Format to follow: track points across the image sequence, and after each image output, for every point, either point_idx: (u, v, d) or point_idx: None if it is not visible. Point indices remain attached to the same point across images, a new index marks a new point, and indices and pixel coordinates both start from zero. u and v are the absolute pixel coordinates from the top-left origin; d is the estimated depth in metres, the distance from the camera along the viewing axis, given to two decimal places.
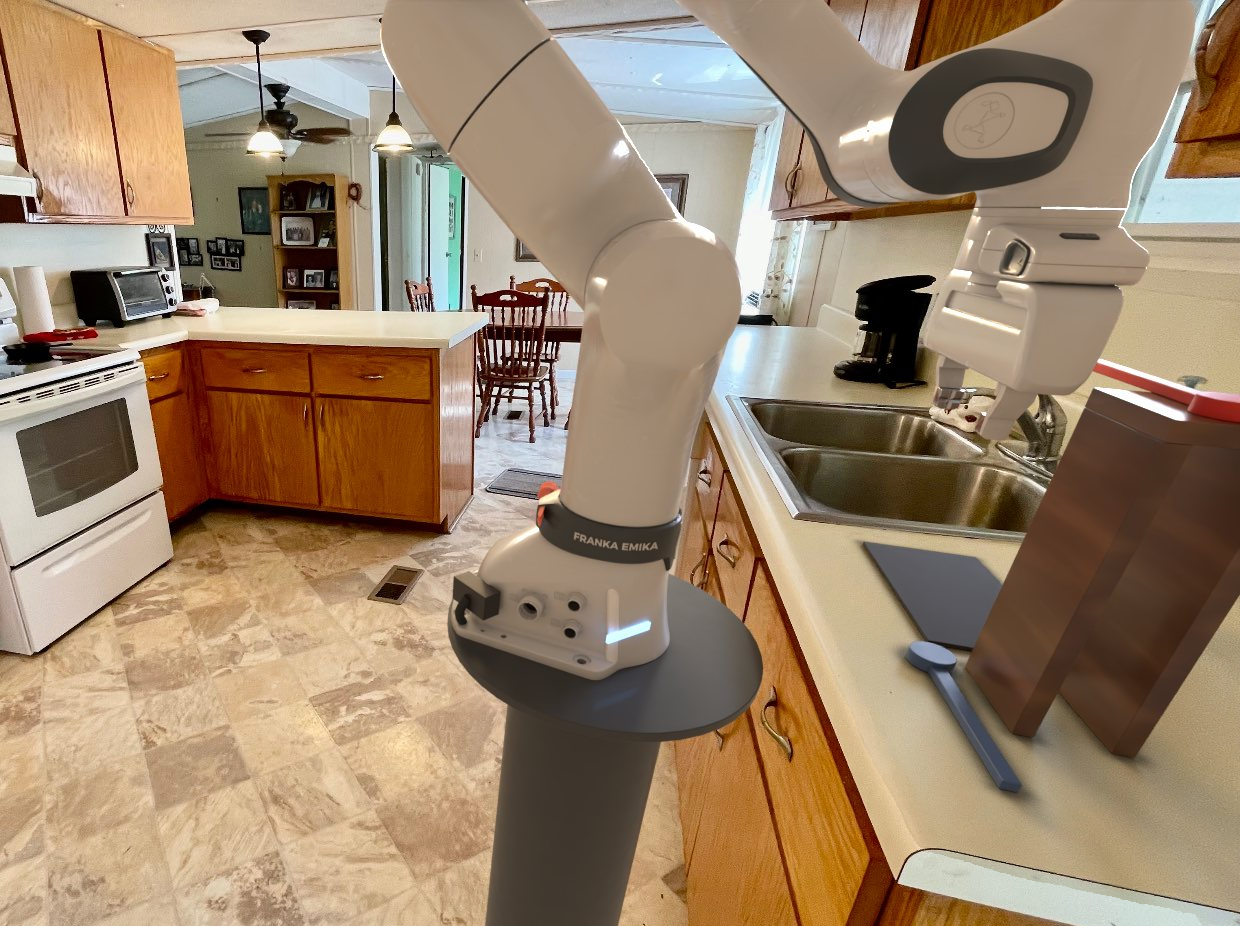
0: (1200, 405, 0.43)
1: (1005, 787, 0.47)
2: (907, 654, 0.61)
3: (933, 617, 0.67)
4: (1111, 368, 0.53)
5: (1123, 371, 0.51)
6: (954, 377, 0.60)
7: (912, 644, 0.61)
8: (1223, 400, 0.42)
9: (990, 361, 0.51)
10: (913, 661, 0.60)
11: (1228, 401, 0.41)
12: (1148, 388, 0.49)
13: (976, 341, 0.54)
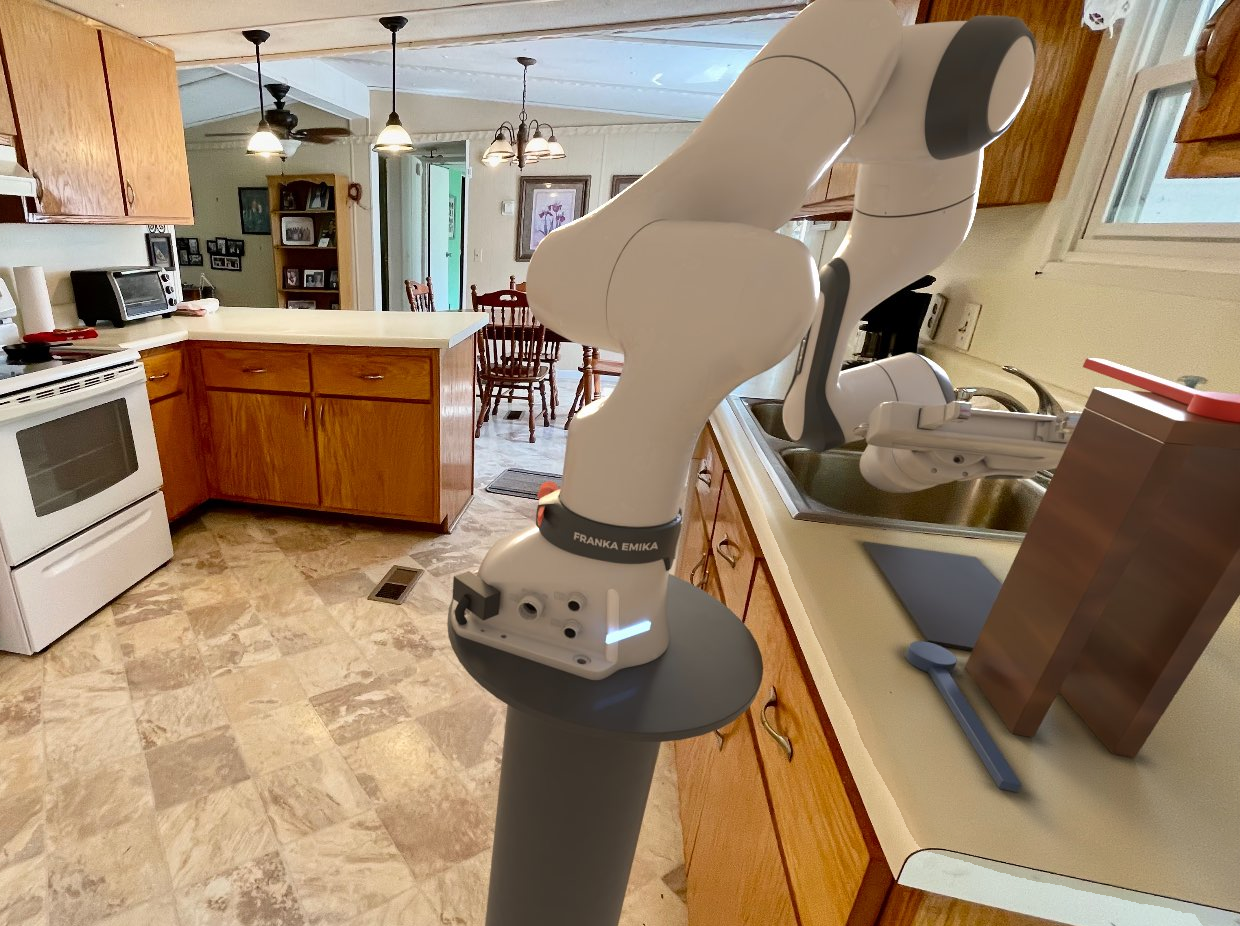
0: (1199, 405, 0.43)
1: (1005, 787, 0.47)
2: (907, 654, 0.61)
3: (933, 617, 0.67)
4: (1112, 368, 0.53)
5: (1124, 371, 0.51)
6: None
7: (912, 644, 0.61)
8: (1222, 400, 0.42)
9: None
10: (913, 661, 0.60)
11: (1227, 401, 0.41)
12: (1149, 388, 0.49)
13: None
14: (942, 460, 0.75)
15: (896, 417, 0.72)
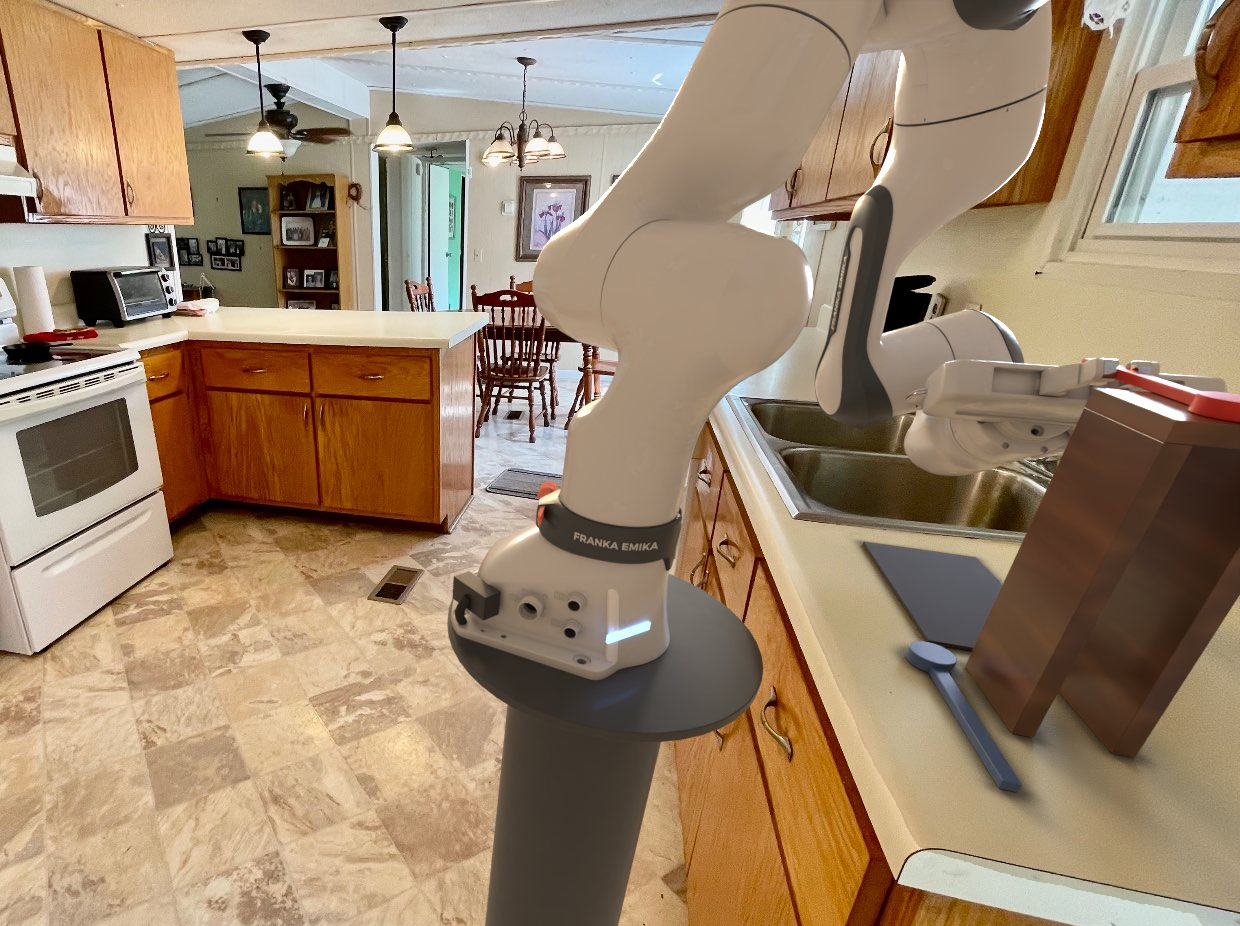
0: (1201, 405, 0.43)
1: (1005, 787, 0.47)
2: (907, 654, 0.61)
3: (933, 617, 0.67)
4: None
5: (1122, 371, 0.51)
6: None
7: (912, 644, 0.61)
8: (1224, 400, 0.42)
9: None
10: (913, 661, 0.60)
11: (1229, 401, 0.41)
12: (1148, 388, 0.49)
13: None
14: (1017, 432, 0.62)
15: (965, 378, 0.58)
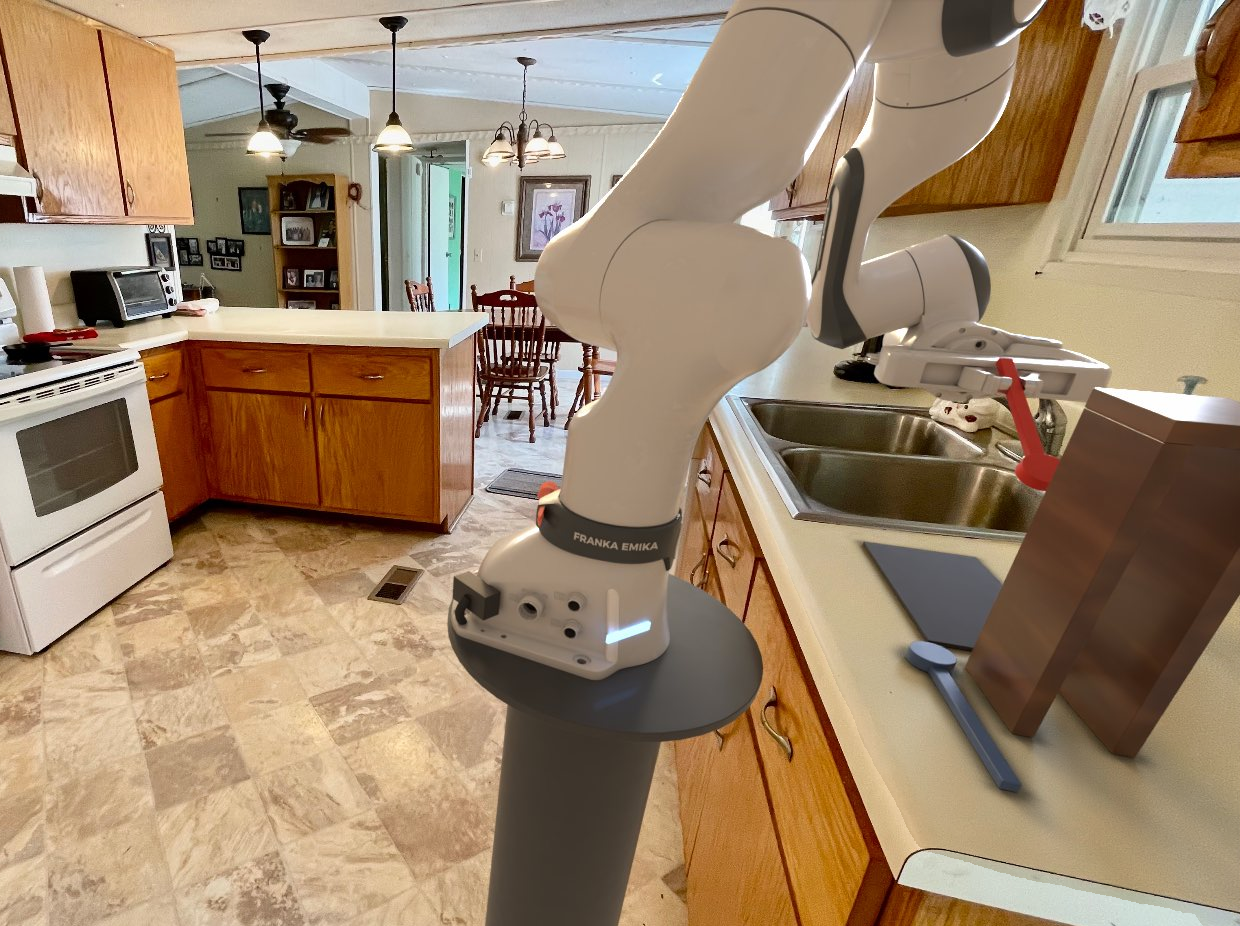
0: (1020, 471, 0.60)
1: (1005, 787, 0.47)
2: (907, 654, 0.61)
3: (933, 617, 0.67)
4: None
5: (1010, 393, 0.66)
6: None
7: (912, 644, 0.61)
8: (1032, 474, 0.59)
9: (1048, 362, 0.69)
10: (913, 661, 0.60)
11: (1034, 476, 0.59)
12: (1015, 421, 0.64)
13: None
14: None
15: (901, 372, 0.72)
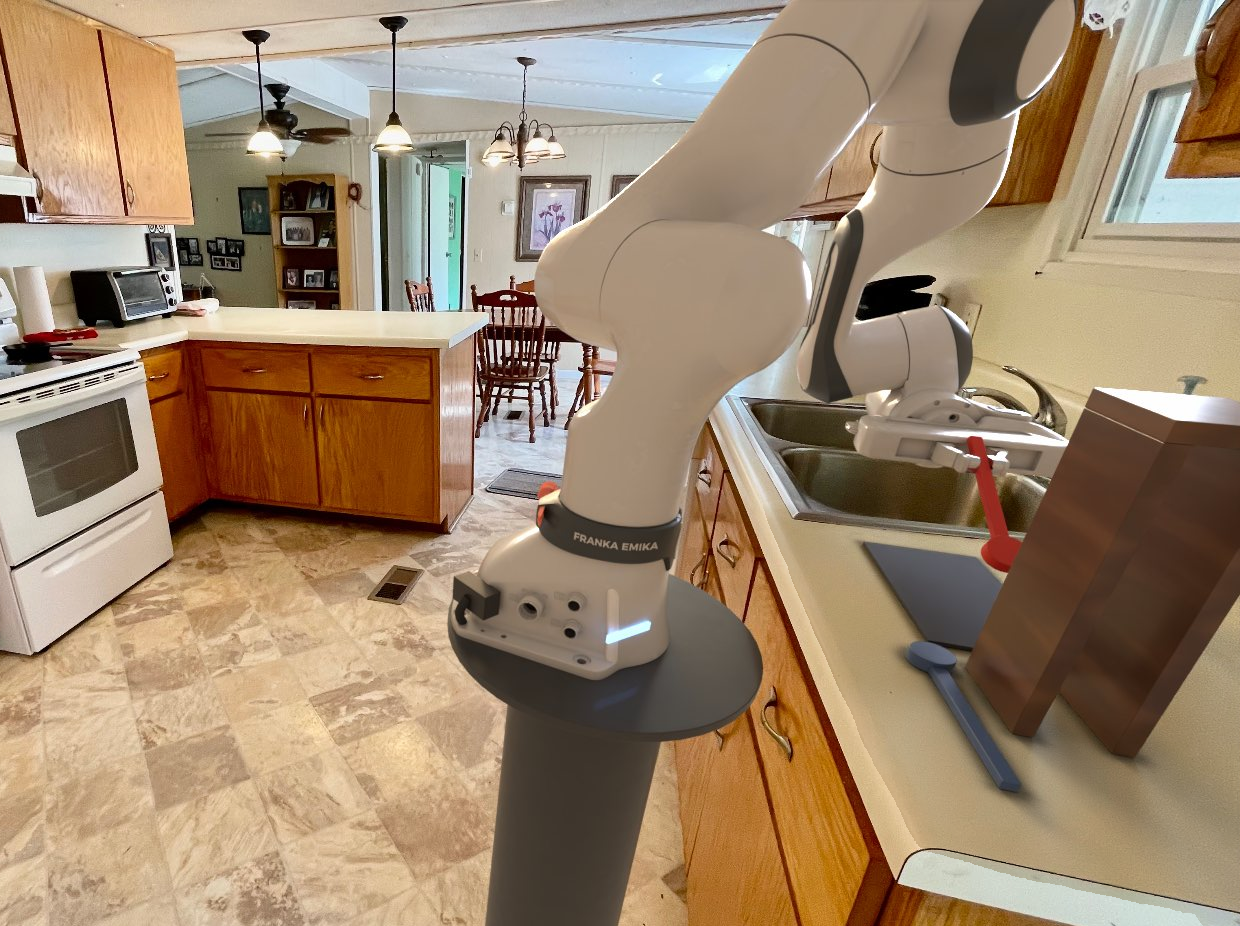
0: (985, 553, 0.64)
1: (1005, 787, 0.47)
2: (907, 654, 0.61)
3: (933, 617, 0.67)
4: None
5: (979, 472, 0.69)
6: None
7: (912, 644, 0.61)
8: (995, 557, 0.63)
9: (1017, 439, 0.72)
10: (913, 661, 0.60)
11: (997, 559, 0.63)
12: (982, 501, 0.68)
13: (977, 433, 0.74)
14: None
15: (877, 445, 0.76)
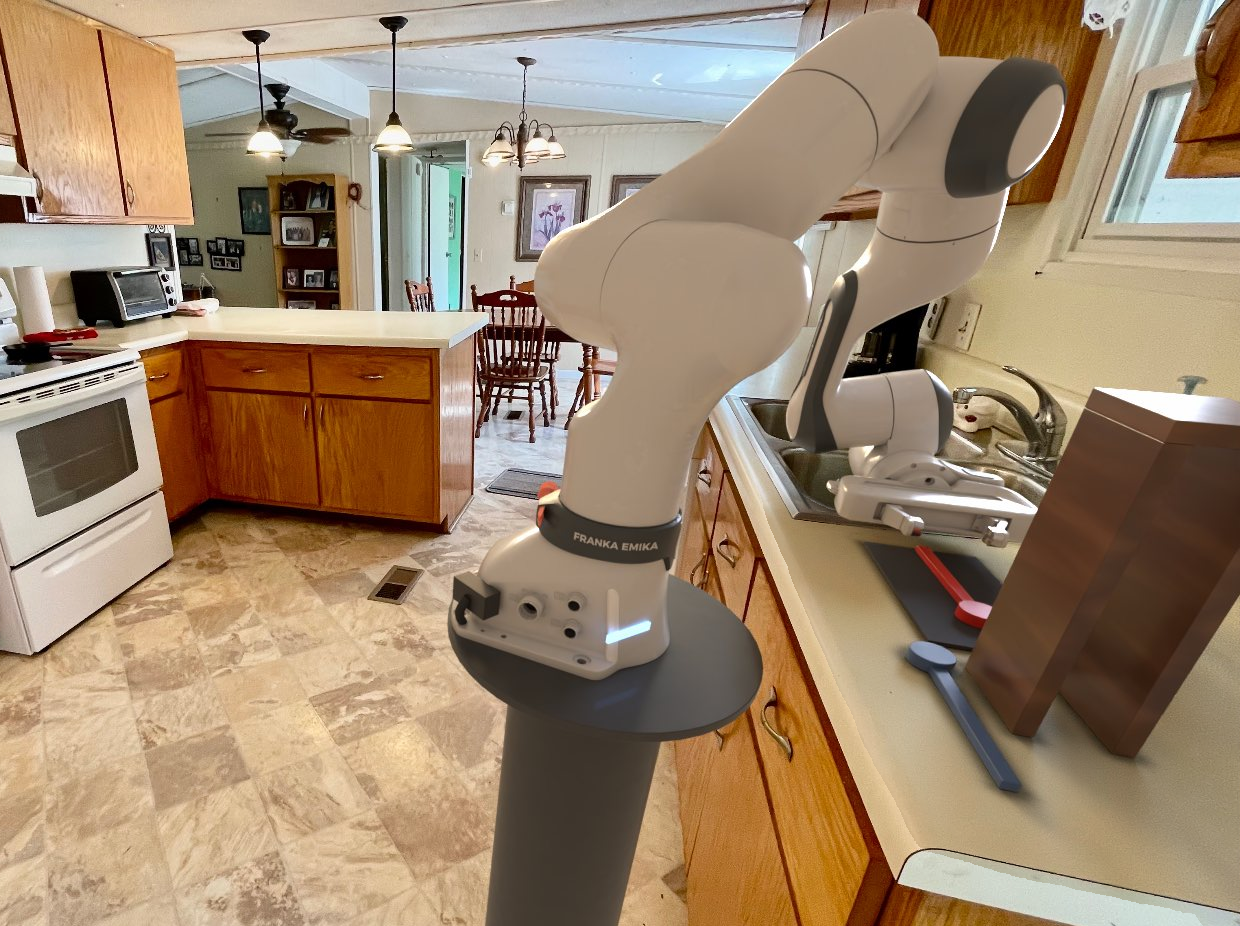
0: (959, 612, 0.67)
1: (1005, 787, 0.47)
2: (907, 654, 0.61)
3: (933, 617, 0.67)
4: (928, 560, 0.77)
5: (933, 565, 0.75)
6: None
7: (912, 644, 0.61)
8: (970, 613, 0.66)
9: (988, 506, 0.76)
10: (913, 661, 0.60)
11: (972, 614, 0.66)
12: (943, 584, 0.73)
13: (950, 499, 0.78)
14: None
15: (856, 509, 0.79)
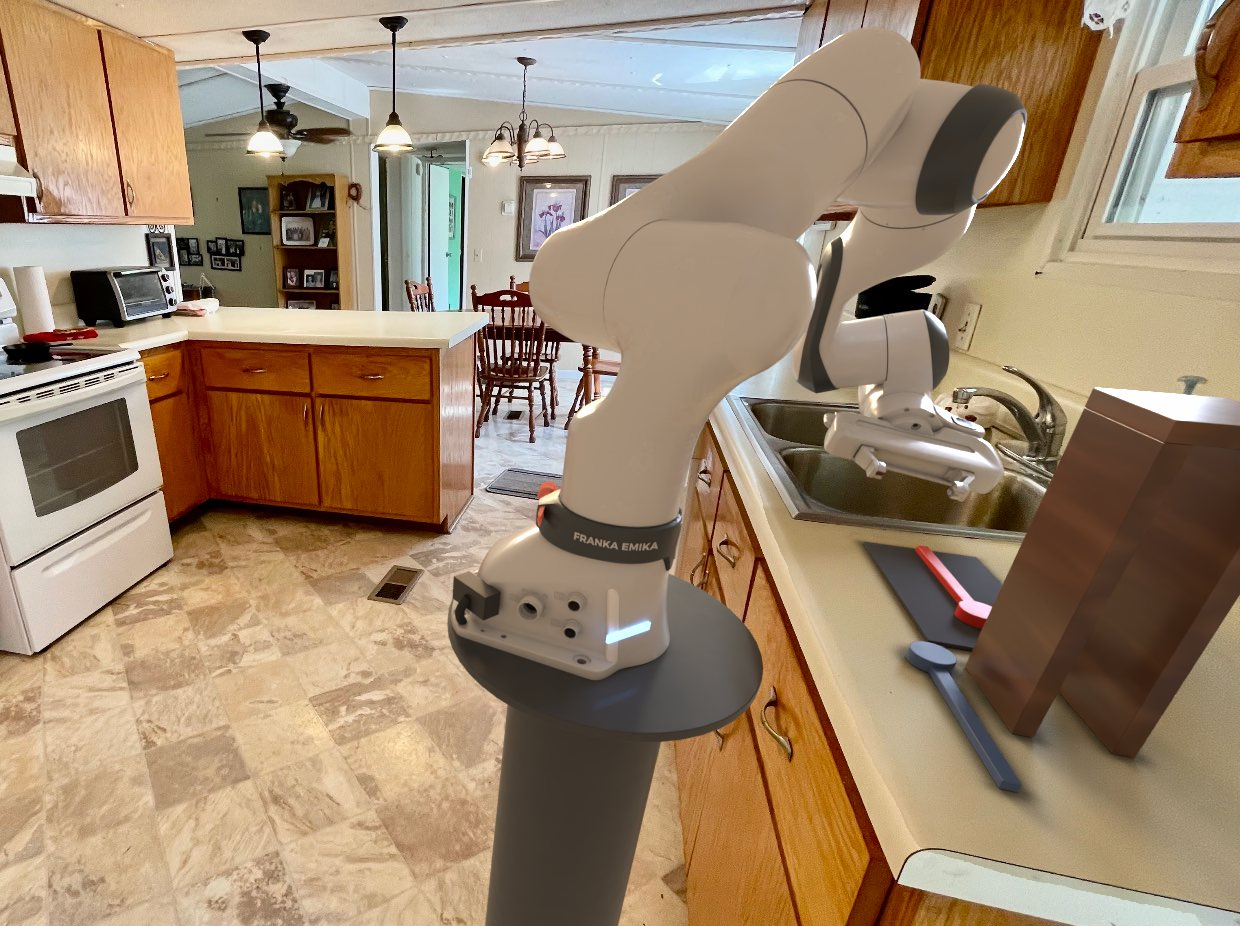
0: (959, 612, 0.67)
1: (1005, 787, 0.47)
2: (907, 654, 0.61)
3: (933, 617, 0.67)
4: (928, 560, 0.77)
5: (933, 565, 0.75)
6: None
7: (912, 644, 0.61)
8: (970, 613, 0.66)
9: (958, 458, 0.85)
10: (913, 661, 0.60)
11: (972, 614, 0.66)
12: (943, 584, 0.73)
13: (927, 447, 0.86)
14: None
15: (840, 447, 0.88)
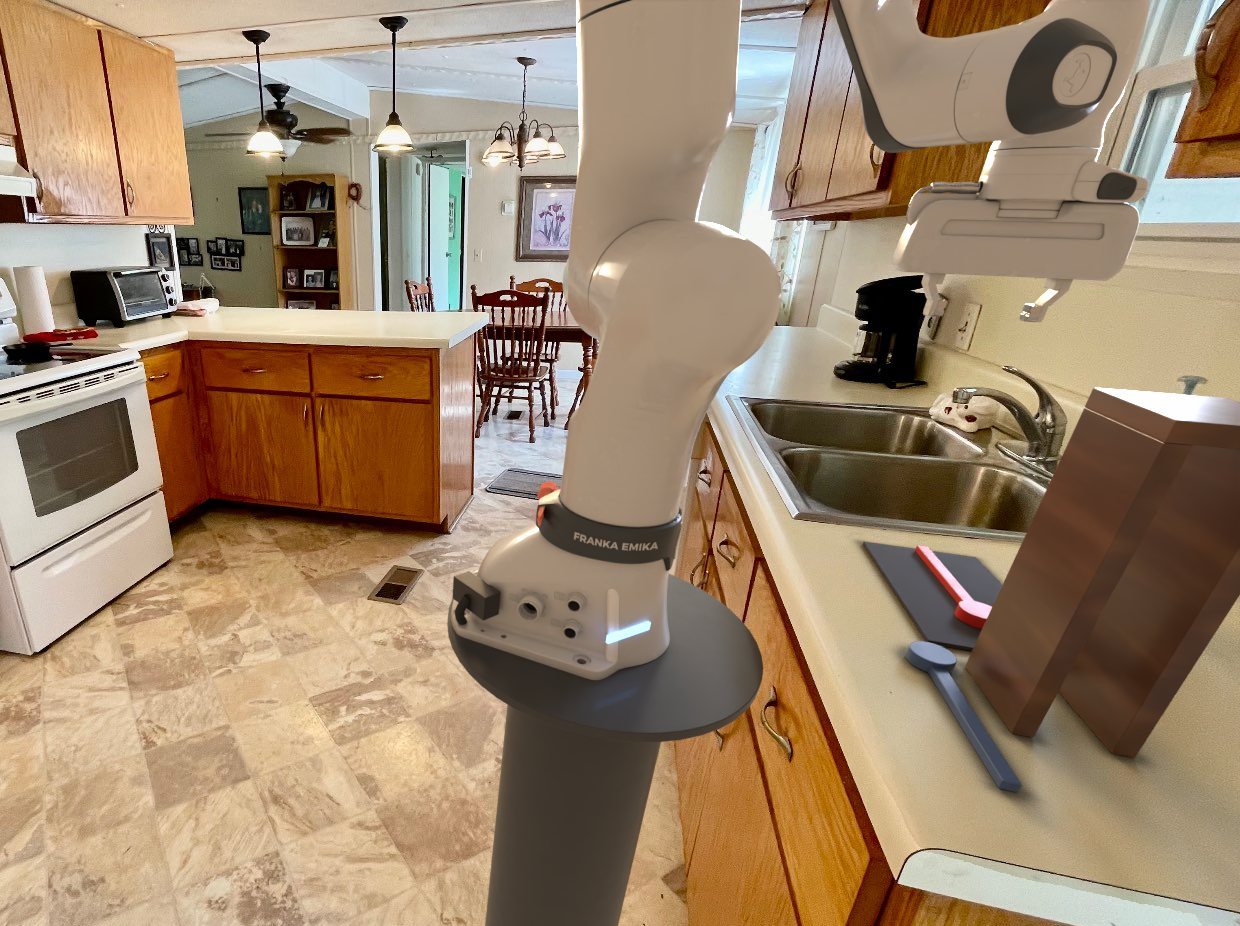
0: (959, 612, 0.67)
1: (1005, 787, 0.47)
2: (907, 654, 0.61)
3: (933, 617, 0.67)
4: (928, 560, 0.77)
5: (933, 565, 0.75)
6: None
7: (912, 644, 0.61)
8: (970, 613, 0.66)
9: (1060, 266, 0.69)
10: (913, 661, 0.60)
11: (972, 614, 0.66)
12: (943, 584, 0.73)
13: (1026, 254, 0.70)
14: None
15: None
